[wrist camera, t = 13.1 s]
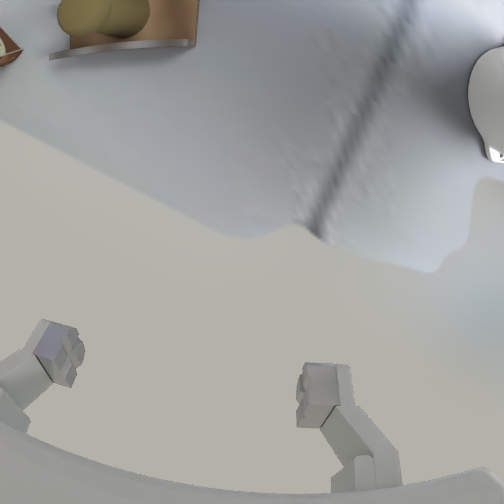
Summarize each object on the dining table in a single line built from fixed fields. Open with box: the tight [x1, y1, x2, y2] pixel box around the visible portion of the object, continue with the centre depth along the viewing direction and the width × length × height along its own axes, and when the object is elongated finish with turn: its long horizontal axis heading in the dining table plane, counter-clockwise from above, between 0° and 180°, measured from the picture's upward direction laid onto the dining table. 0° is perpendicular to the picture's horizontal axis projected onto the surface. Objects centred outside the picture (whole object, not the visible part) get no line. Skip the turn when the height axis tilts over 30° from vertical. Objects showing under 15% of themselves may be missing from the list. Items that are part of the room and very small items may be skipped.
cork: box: [57, 0, 150, 38], centre depth 22 cm, size 6×6×11 cm
